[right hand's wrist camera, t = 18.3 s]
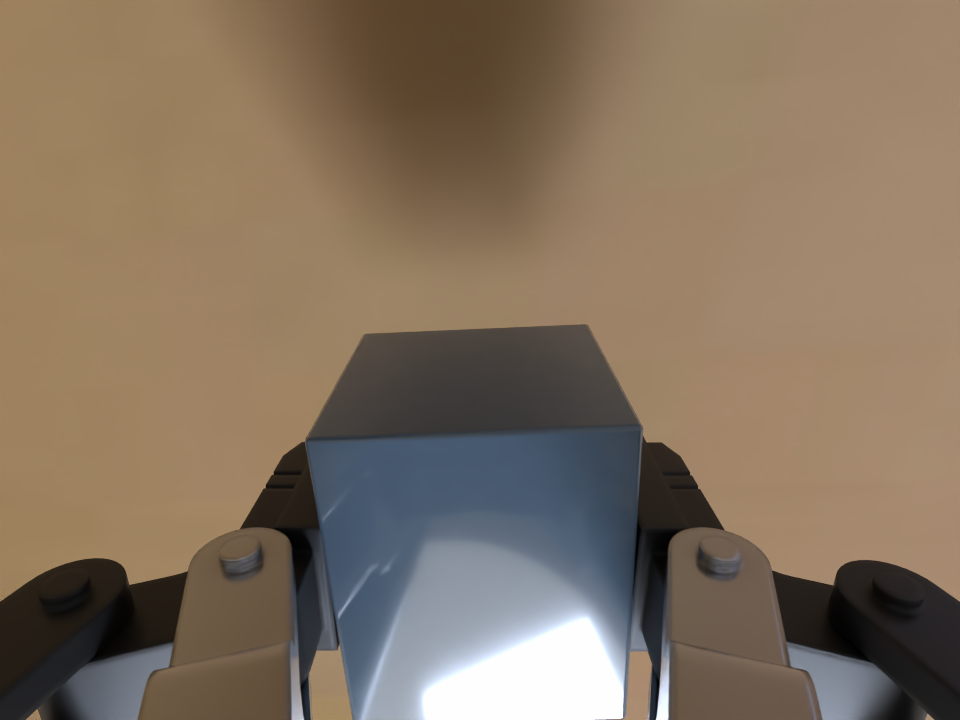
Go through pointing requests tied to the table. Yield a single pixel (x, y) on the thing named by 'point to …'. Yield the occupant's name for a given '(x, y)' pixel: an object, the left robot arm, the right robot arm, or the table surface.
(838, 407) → the table surface
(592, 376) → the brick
